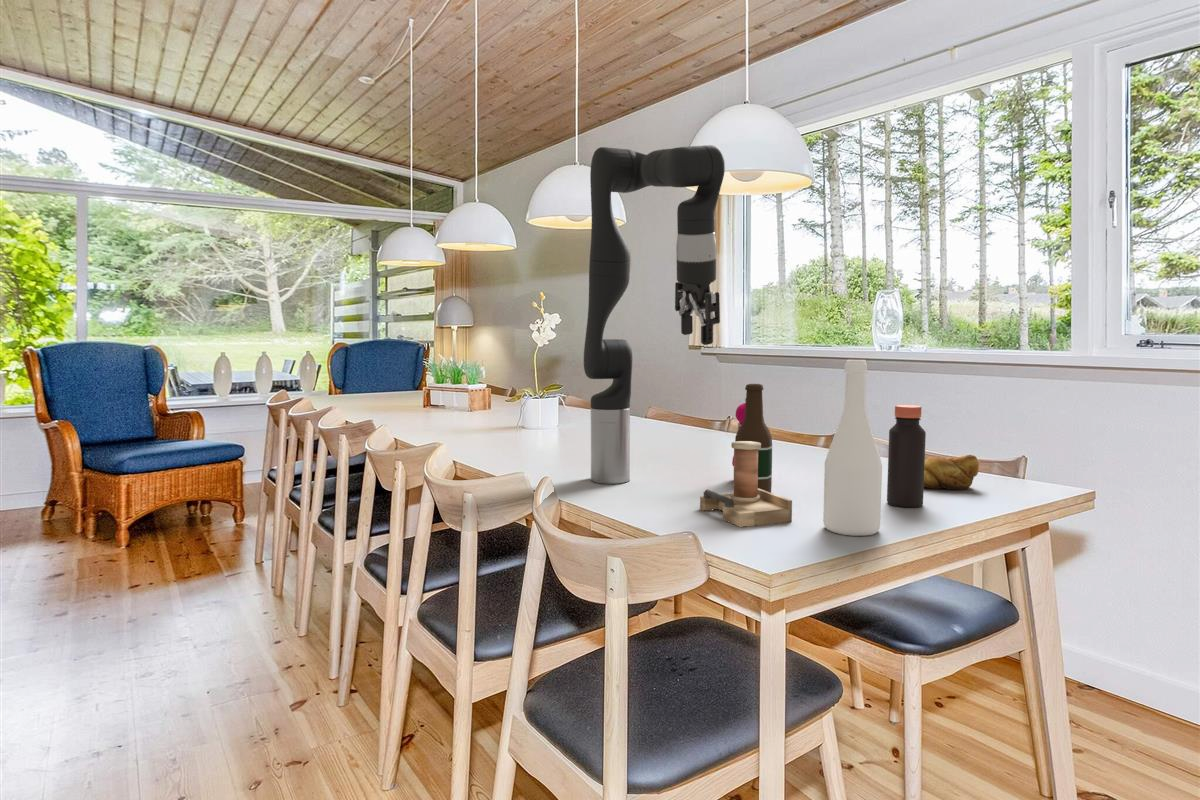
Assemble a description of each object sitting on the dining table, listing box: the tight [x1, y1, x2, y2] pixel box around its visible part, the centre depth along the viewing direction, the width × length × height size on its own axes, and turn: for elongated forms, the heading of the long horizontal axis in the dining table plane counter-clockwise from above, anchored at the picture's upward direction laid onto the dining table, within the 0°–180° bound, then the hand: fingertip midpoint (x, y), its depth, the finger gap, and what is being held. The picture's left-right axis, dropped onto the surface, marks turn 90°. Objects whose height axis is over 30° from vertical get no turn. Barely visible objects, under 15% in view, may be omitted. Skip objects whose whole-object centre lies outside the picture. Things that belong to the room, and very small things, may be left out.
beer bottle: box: [734, 383, 773, 493], centre depth 155 cm, size 8×8×24 cm
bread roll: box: [924, 454, 979, 490], centre depth 165 cm, size 13×10×8 cm
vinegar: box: [886, 404, 927, 509], centre depth 148 cm, size 7×7×20 cm
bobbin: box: [730, 441, 761, 503], centre depth 142 cm, size 6×6×11 cm
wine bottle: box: [822, 359, 883, 537], centre depth 129 cm, size 10×10×30 cm
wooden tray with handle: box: [699, 488, 793, 528], centre depth 141 cm, size 15×11×4 cm
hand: (696, 338), depth 146 cm, fingers open, 8 cm apart
